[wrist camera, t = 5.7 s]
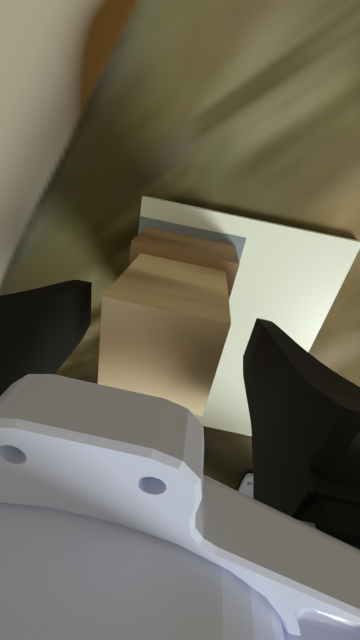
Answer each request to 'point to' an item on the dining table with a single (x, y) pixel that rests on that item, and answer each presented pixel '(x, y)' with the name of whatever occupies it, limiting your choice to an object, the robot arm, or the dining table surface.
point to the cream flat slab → (259, 288)
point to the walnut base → (187, 251)
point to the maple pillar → (164, 330)
